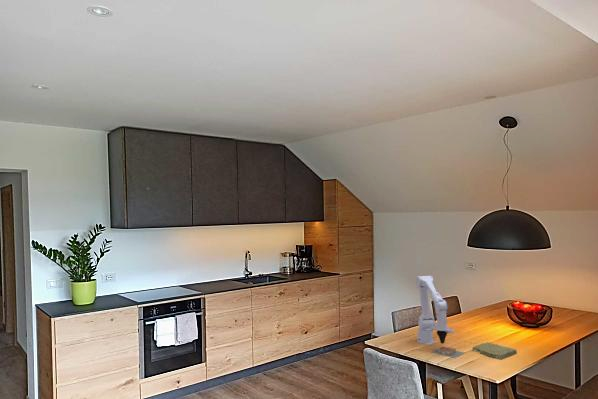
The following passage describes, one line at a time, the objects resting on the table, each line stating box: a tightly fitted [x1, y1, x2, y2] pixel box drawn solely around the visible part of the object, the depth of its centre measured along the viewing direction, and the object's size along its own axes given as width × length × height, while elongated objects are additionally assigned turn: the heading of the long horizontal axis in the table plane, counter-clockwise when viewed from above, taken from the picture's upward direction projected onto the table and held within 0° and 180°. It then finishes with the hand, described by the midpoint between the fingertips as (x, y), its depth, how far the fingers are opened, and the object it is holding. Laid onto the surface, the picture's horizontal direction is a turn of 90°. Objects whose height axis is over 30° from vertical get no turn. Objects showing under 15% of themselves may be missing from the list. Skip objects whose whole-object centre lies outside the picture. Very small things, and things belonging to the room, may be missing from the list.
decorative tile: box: [471, 341, 518, 361], centre depth 274 cm, size 19×20×4 cm
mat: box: [430, 346, 465, 359], centre depth 275 cm, size 16×13×1 cm
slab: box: [437, 345, 457, 356], centre depth 275 cm, size 2×7×8 cm
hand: (442, 343), depth 277 cm, fingers closed
